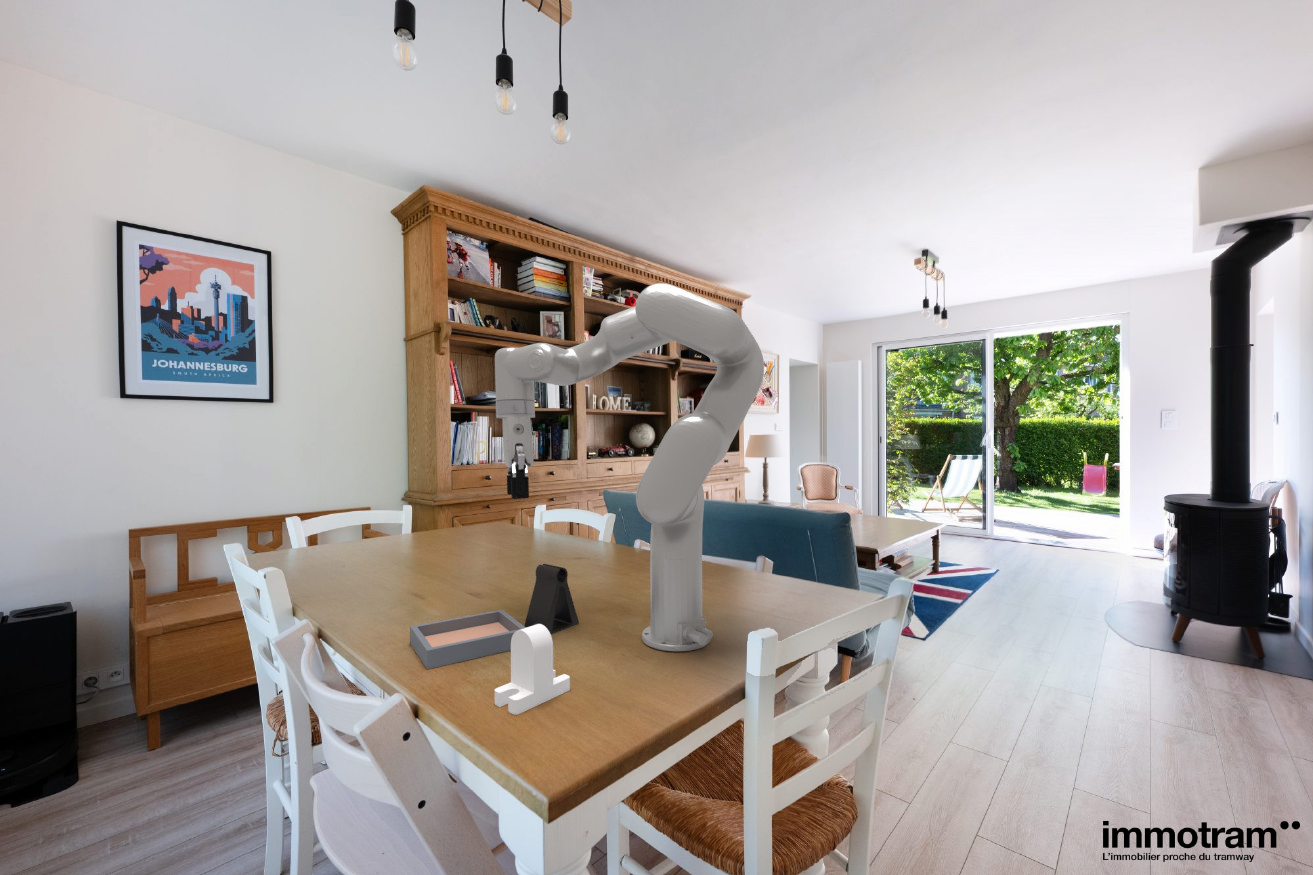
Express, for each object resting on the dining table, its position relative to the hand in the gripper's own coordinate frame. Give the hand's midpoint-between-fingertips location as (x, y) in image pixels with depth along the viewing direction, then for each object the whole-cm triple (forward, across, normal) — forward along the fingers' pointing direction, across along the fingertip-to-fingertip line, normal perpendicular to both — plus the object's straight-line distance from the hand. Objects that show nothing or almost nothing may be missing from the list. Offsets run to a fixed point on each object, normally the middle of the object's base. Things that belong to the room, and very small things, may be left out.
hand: (517, 496), depth 110 cm
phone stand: (+26, -4, -6) cm, 27 cm away
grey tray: (+25, -8, +10) cm, 28 cm away
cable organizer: (+26, -32, +2) cm, 41 cm away
